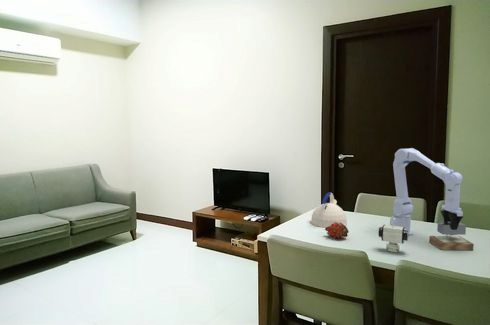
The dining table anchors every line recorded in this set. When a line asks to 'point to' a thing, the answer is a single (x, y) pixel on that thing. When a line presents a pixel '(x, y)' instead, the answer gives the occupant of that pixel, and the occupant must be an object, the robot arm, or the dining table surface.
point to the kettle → (328, 213)
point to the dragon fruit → (337, 230)
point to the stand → (451, 243)
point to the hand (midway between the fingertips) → (450, 227)
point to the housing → (446, 228)
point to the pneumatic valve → (393, 236)
